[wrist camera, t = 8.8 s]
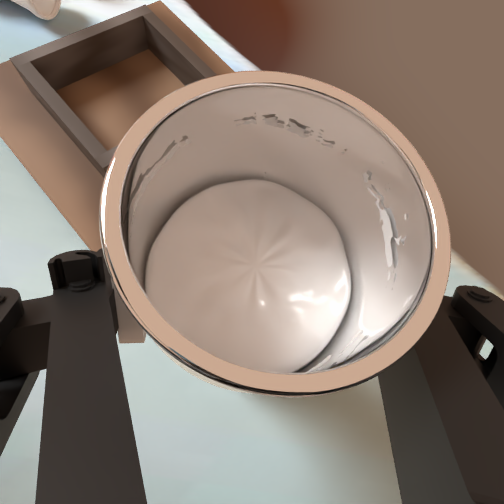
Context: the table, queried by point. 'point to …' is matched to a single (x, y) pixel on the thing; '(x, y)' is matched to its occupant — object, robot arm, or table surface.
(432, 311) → the beer glass
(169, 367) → the table surface
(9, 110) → the holder board
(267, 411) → the table surface
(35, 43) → the table surface
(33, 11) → the binoculars
